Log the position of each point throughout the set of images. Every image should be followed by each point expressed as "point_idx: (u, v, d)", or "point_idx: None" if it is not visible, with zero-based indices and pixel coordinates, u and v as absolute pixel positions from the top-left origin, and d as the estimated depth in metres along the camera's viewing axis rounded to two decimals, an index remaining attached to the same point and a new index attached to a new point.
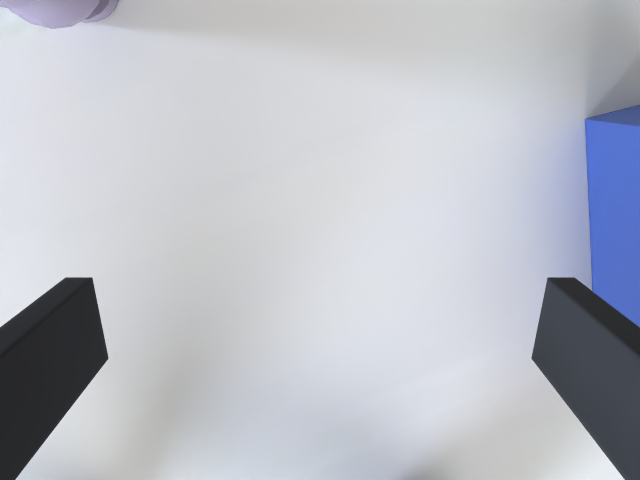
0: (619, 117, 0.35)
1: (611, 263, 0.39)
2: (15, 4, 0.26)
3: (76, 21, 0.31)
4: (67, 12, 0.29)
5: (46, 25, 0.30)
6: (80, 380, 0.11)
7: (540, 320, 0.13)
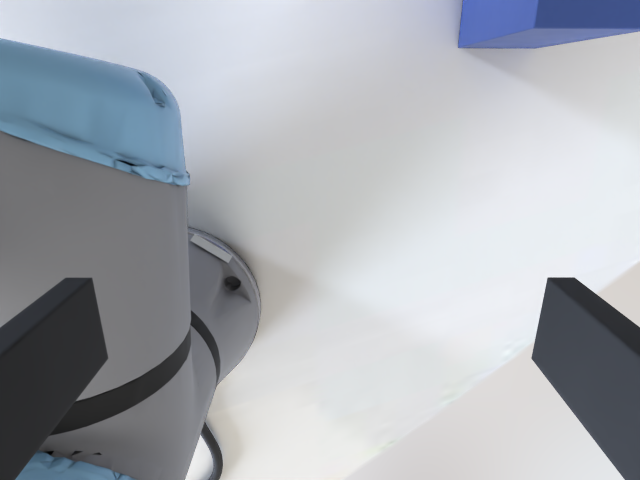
0: None
1: None
2: None
3: None
4: None
5: None
6: (80, 380, 0.11)
7: (541, 320, 0.13)
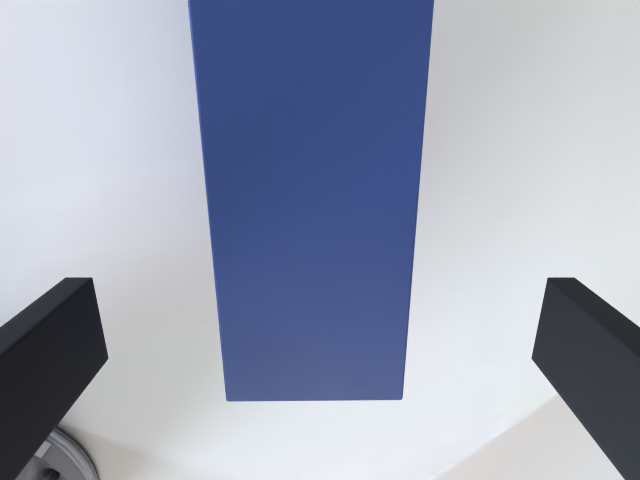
0: None
1: None
2: None
3: None
4: None
5: None
6: (80, 380, 0.11)
7: (541, 320, 0.13)
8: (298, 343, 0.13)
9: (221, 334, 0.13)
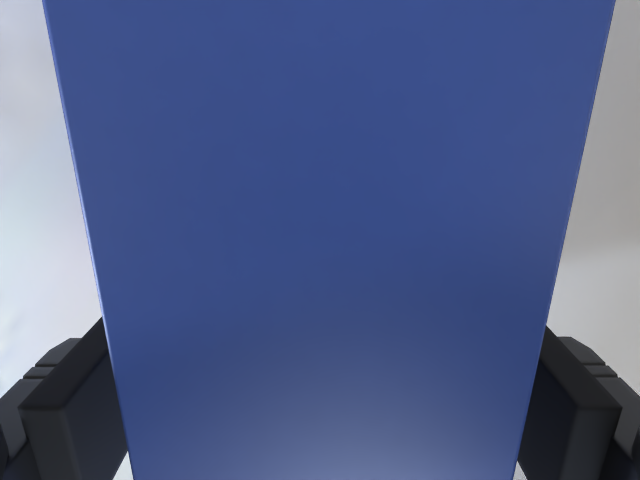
0: None
1: None
2: None
3: None
4: None
5: None
6: None
7: None
8: None
9: None
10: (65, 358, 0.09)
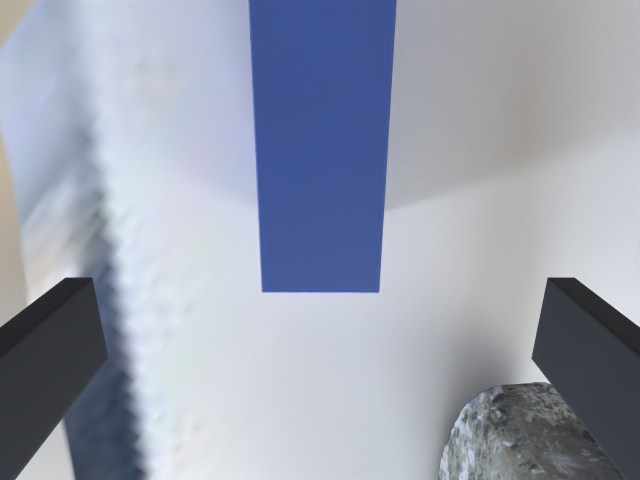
0: None
1: None
2: None
3: None
4: None
5: None
6: (80, 380, 0.11)
7: (540, 320, 0.13)
8: (311, 251, 0.20)
9: (260, 244, 0.20)
10: None
